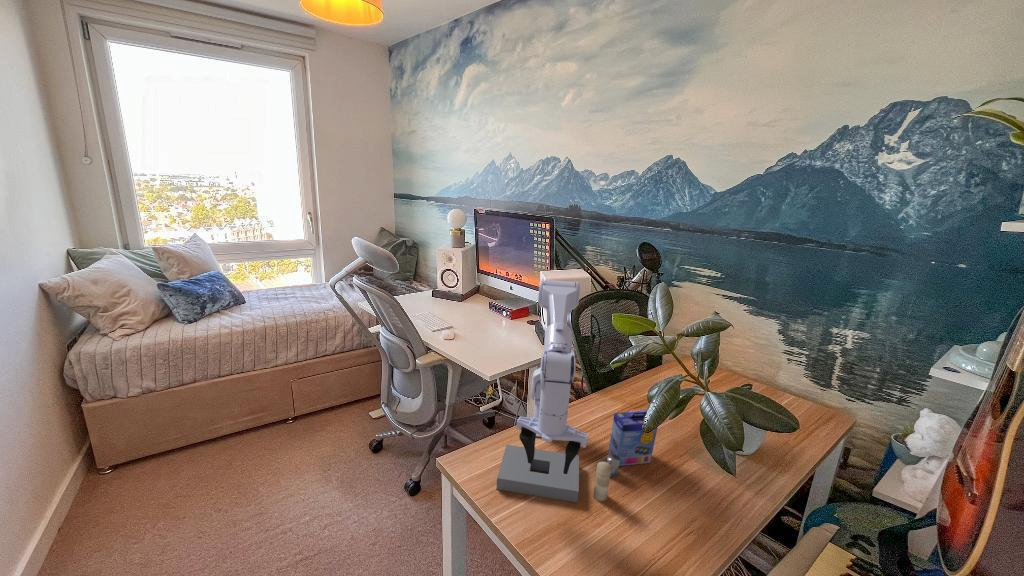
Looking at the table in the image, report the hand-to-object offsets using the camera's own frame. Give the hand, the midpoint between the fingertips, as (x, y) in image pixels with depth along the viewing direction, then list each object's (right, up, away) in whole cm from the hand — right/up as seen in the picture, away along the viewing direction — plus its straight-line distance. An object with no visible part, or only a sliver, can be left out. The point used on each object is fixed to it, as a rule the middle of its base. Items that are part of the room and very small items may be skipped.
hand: (548, 465), depth 86 cm
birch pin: (+12, -9, +6) cm, 16 cm away
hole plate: (-1, -7, +11) cm, 13 cm away
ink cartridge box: (+22, -7, +19) cm, 30 cm away
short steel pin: (+16, -8, +13) cm, 22 cm away
